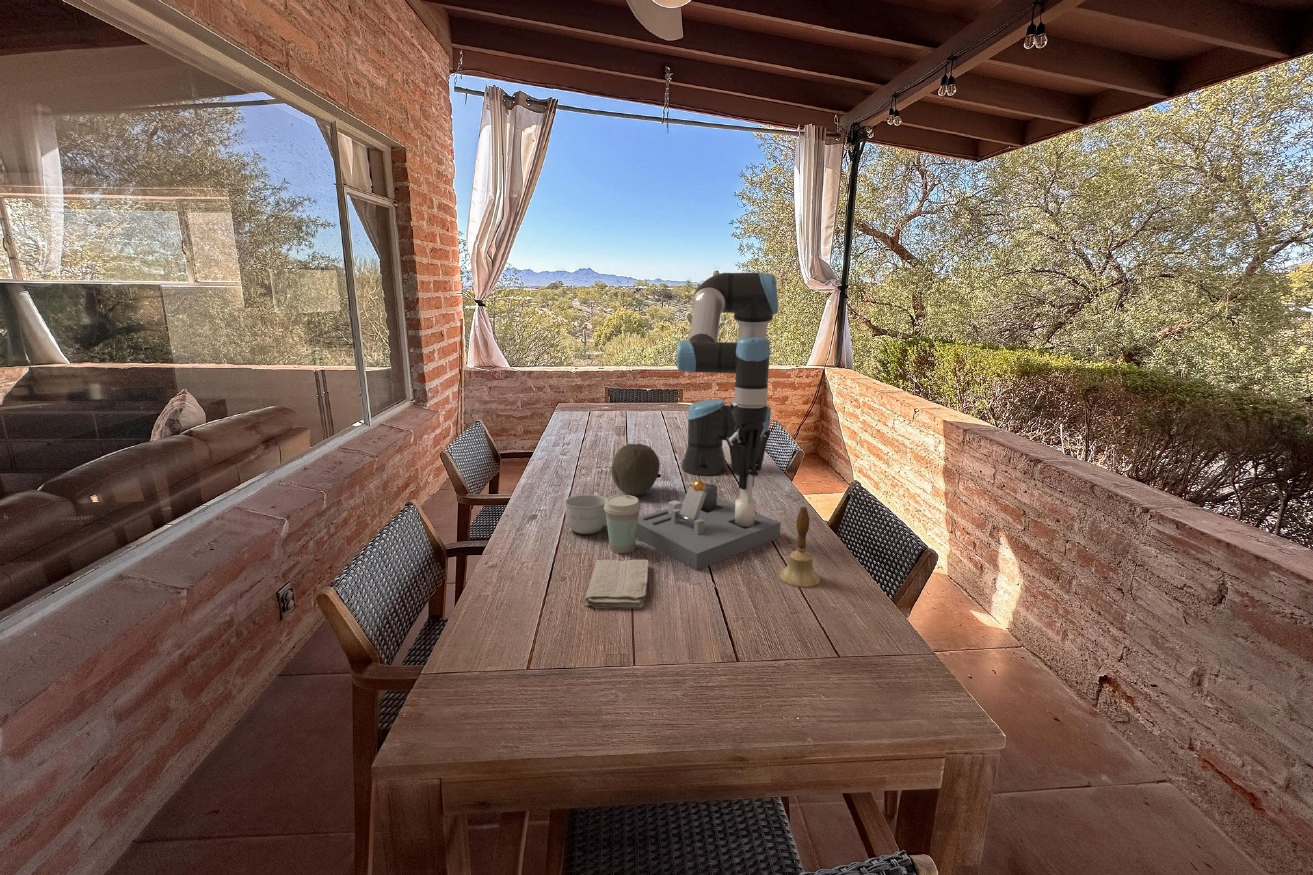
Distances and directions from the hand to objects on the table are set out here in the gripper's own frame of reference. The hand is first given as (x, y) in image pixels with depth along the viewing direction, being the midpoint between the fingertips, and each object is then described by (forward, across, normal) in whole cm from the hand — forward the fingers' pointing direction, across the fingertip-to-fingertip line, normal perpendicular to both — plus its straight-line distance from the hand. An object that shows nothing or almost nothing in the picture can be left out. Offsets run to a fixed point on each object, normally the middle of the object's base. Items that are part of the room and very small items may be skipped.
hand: (745, 500), depth 140 cm
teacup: (+10, +27, -27) cm, 39 cm away
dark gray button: (+6, 0, -13) cm, 14 cm away
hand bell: (+10, +6, +21) cm, 24 cm away
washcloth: (+11, +38, 0) cm, 39 cm away
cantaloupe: (+10, +2, -42) cm, 43 cm away
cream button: (+6, 0, 0) cm, 6 cm away
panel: (+10, +7, -7) cm, 14 cm away
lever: (+4, +13, -7) cm, 15 cm away
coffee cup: (+10, +27, -14) cm, 32 cm away
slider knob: (+6, +10, -15) cm, 19 cm away
